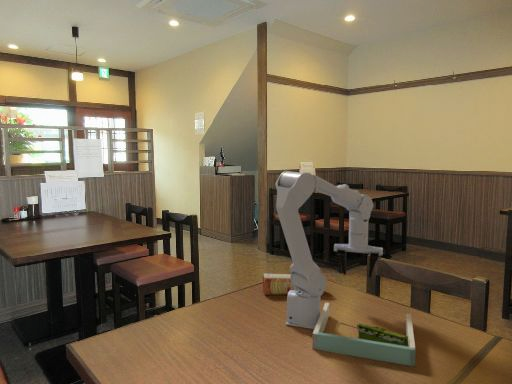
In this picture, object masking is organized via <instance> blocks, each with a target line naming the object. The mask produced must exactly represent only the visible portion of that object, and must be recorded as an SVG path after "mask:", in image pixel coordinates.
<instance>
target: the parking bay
mask: <svg viewBox="0 0 512 384" xmlns="http://www.w3.org/2000/svg"><path fill="white" fill-rule="evenodd" d="M321 309H322V310H321V311H320V317H319V319H318V322H317V324H316V327H315V329H313V332H312V342H311V344H312V347H311V348H312V349H313V350H318V351H324V352H330V353H335V354H342V355H347V356H353V357H359V358H365V359H369V360H374V361H379V362H380V361H381V362H386V363H393V364H397V365H404V366H409V367H416V365H415V364H416V343H415V335H414V327H413V319H412V313H406V315H405V333H406V335H405V336H408V347H407V346H401V345H395V344H389V343H383V342H376V341H370V340H364V339H358V337H357V338H356V337H351V336H345V335H338V334H333V333H328V332H327V333H326V332H325V329H326V326H327V322H328V320H329V317H330V303H329V302H324V305H323V307H322V308H321Z"/></svg>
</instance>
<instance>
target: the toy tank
mask: <svg viewBox="0 0 512 384" xmlns="http://www.w3.org/2000/svg"><path fill="white" fill-rule="evenodd" d="M340 324H341V325H345V326H349V327H350V328H354V329H356V330H357V333H358V337H357V338H358V339H364V340H370V341H376V342H383V343H389V344H395V345H401V346H407V347H408V336H406V335H403V334H400V333H396V332H392V331H389V330H386V329H384V328H380V327H378V326H372V325H371V326H370V325H368V324H362V323H357V325H356V326H353V325H350V324H346V323H343V322H340Z"/></svg>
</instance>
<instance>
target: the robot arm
mask: <svg viewBox="0 0 512 384" xmlns="http://www.w3.org/2000/svg"><path fill="white" fill-rule="evenodd" d="M275 188H276V203H275V209H276V213H277V215H278V219H279V222H280V225H281V229H282V231H283V236H284V238H285V243H286V244H287V248H288V251H289V254H290V256H291V261H292V263H291V265H290V266H289V271H290V274H291V275H290V281H291V283H292V284H293V285H294V290H290V291H289V293H288V294H287V296H286V322H285V325H287V326H291V327H292V326H293V327H298V328H304V329H311V330H314V329H315V327H316V324H317V322H318V319H319V317H320V314H321V296H323V295H322V293H323V292H324V291H326V288H327V284H328V283H327V278H326V276H325V275H324V274H323V273H322V270H321V268H320V267H319V266H318V265H317V264H316V262H315V261H314V260H313V257H312V256H313V255H312V254H311V251H310V250H311V249H310V246H309V244H308V240H307V236H306V233H305V230H304V227H303V223H302V220H301V216H300V213H299V210H300V208H301V207H302V206H303V204H305V203H306V201H308V200H309V198H310V197H311V196H312V194H313V193H317V192H318V193H320V194H323V195H326V196H329V197H330V198H331V201H332V202H333V203H335V204H336V205H339V206H341V207H343V208H345V209H346V210H347V211H349V213H348V214H349V215H348V217H349V218H348V219H349V220H348V223H349V224H348V243H334V245H333V252H337V253H336V256H337V258H338V260H339V262H340V265H341V270H342V274H343V275H344V276H345V275H346V274H347V253H357V254H358V253H359V254H369V268H368V269H369V270H368V278H370V279H371V278H372V274H373V270H374V267H375V265H376V263H377V261H378V260H379V257H380V256H383V254H384V252H383V251H384V250H383V249H384V248H383V247H381V246H380V247H379V246H372V245H369V220H370V219H371V218H370V217H371V213H372V212H373V209H374V203H373V200H372V198H371V197H370V196H369V195H368V194H363V193H360V190H357V189H352V188H350V185H348V184H338V185H334V184H333V183H331V182H329V181H327V180H325V179H324V178H321V177H320V176H318V175H316V174H312V173H311V172H299V171H298V172H297V171H291V170H285V171H283V172H281V174H279V176H278V178H277V180H276V182H275Z"/></svg>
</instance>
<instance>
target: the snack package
mask: <svg viewBox="0 0 512 384" xmlns="http://www.w3.org/2000/svg"><path fill="white" fill-rule="evenodd" d="M290 275H291V273H290V274H289V273H263V275H262V289H263V291H262V292H263V294H264V295H265V296H267V295H268V296H269V295H282V296H283V295H288V293H289V291H290V290H294V285H293V284H292V283H291V281H290ZM325 291H326V290H325ZM325 291H324V292H323V293H322V295H321V296H323V295H325Z"/></svg>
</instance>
